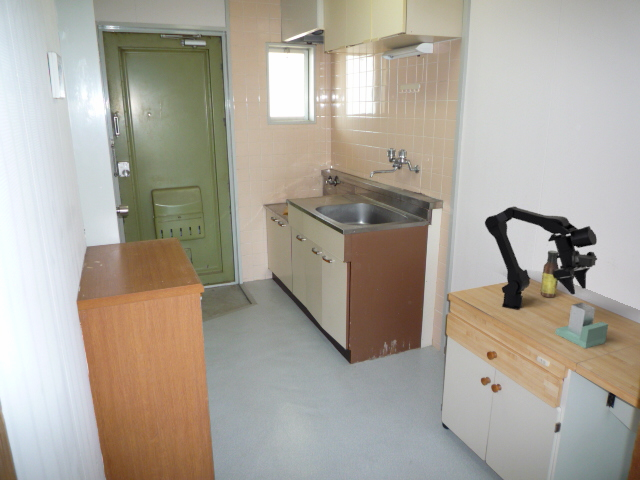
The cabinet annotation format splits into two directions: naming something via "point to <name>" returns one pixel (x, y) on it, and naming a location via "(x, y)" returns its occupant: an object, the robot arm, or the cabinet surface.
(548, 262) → the sauce bottle
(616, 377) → the cabinet surface
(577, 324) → the gray upright column
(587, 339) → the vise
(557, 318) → the cabinet surface
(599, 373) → the cabinet surface
